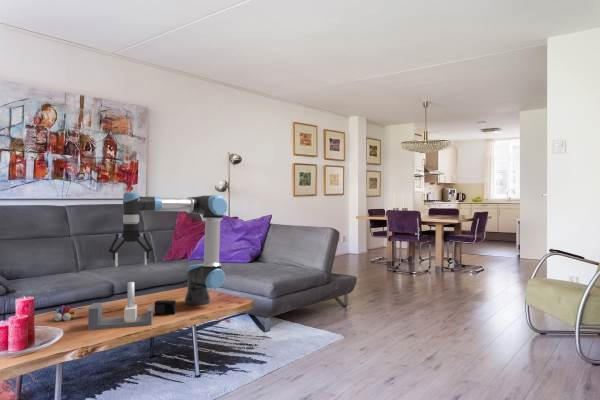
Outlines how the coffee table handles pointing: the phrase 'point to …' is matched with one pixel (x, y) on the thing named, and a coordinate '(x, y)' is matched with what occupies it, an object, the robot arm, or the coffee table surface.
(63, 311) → the rainbow disc rattle
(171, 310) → the digital camera
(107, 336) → the coffee table surface
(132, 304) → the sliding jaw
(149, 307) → the bench clamp
